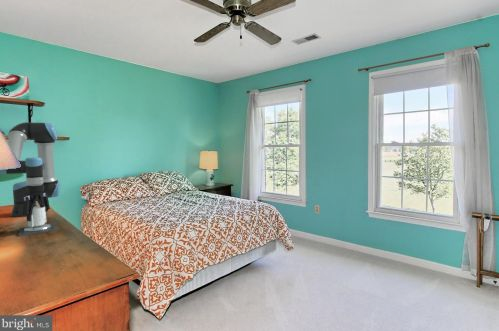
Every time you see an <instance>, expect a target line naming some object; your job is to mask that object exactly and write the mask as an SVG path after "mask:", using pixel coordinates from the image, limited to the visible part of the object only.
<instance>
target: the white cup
mask: <svg viewBox="0 0 499 331" xmlns="http://www.w3.org/2000/svg"><path fill="white" fill-rule="evenodd" d="M31 215H33V224H34V226H40V225H43V224H46V223H45V206H44V207H43V208H42V207H40V205H37V206H35V207H34V208H33V211H32V214H31Z"/></svg>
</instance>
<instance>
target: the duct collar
mask: <svg viewBox="0 0 499 331" xmlns="http://www.w3.org/2000/svg"><path fill="white" fill-rule="evenodd" d="M19 228H20V229H19V231H18V237H22V236H29V235H35V234H43V233H49V232H55V231H56V224H55V223H54V222H53V223H45V224H43V225H40V226H34V227H28V226H25V227H19Z"/></svg>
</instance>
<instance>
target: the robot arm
mask: <svg viewBox="0 0 499 331" xmlns="http://www.w3.org/2000/svg"><path fill="white" fill-rule="evenodd" d="M7 139H8V140H7V143H9V145H10V147H11V149H12V150H13V152H14V153H15V155H16V157H17V159H18V161H19V162H20V164H21V167H20V168H16V169H8V170H0V175H15V174H16V175H17V174H22V175H23V174H25V176H26V178H25V180H26V181H19V182H15V183H13V185H12V194H13V198H12V199H13V206H12V209H11V212H10V216H11V217H12V218H20V217H26V221H27V227H34V224H33V215H31V214H32V211H33V208H34V207H35V206H40V207H42V208H43V207H44V206H45V224H47V216H48V212H49V210H50V209H51V207H50V201H49V199H52V198H57V197H58V196H59V195H60V191H61V190H60V189H61V181H60V180H58V178H57V177H56V176H55V162H54V161H55V160H54V150H53V149H54V146H53V145H54V144H55V142H56V141H57V140H58V135H57V130H56V126H55V125H54V123H52V122H51V123H50V122H29V121H28V122H27V121H26V122H20V123H18V124H16V125H14V126H13V127H12V128H11V129H10V130H9V132H8V134H7ZM27 140H29V141H31V140H32V141H33V143H34V144H35V145H36V146H37V147H36V148H37V157H26V158H25V160H21V156H22V152H23V149H24V148H23V147H24V144H25V142H27Z"/></svg>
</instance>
